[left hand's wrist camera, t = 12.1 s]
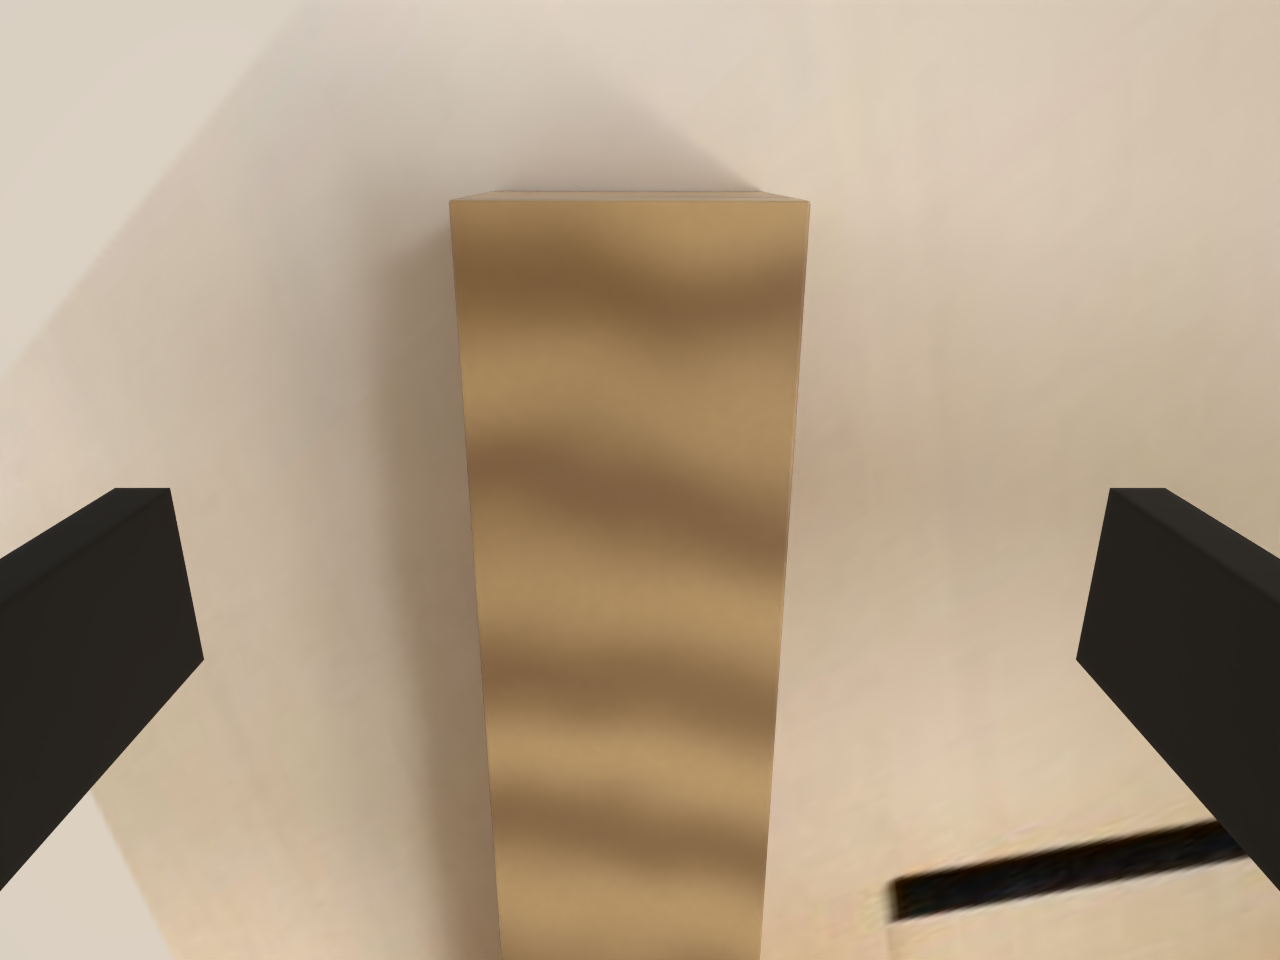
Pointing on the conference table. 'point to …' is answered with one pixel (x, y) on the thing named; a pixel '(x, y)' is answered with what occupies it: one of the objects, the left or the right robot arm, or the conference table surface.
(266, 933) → the conference table surface
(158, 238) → the conference table surface
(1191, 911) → the conference table surface
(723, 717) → the wide beam
